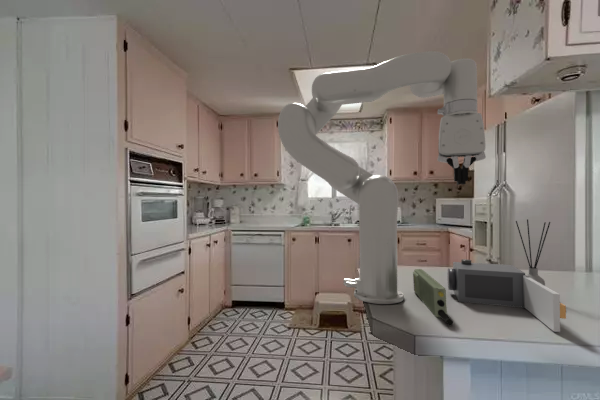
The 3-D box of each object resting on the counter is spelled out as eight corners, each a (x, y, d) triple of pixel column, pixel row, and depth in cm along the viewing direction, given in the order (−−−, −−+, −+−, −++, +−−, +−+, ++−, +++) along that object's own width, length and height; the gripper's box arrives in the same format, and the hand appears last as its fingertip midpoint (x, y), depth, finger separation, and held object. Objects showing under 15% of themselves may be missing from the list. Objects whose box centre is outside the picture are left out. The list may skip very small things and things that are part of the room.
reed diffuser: (509, 293, 83) (508, 219, 84) (526, 290, 86) (525, 218, 86) (552, 304, 74) (551, 220, 74) (569, 301, 76) (568, 220, 77)
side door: (522, 306, 72) (522, 275, 72) (533, 307, 71) (532, 275, 71) (553, 331, 58) (552, 292, 58) (566, 332, 57) (566, 293, 57)
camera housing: (451, 300, 77) (450, 264, 77) (447, 290, 86) (446, 257, 87) (525, 307, 72) (525, 268, 72) (512, 295, 81) (512, 261, 81)
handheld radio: (425, 293, 85) (459, 329, 60) (413, 293, 85) (441, 329, 60) (424, 268, 85) (457, 294, 60) (411, 268, 85) (440, 294, 61)
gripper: (428, 110, 77) (429, 184, 77) (498, 103, 72) (499, 182, 71) (427, 118, 84) (428, 185, 84) (490, 112, 79) (491, 184, 78)
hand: (461, 184), depth 77 cm, fingers closed
